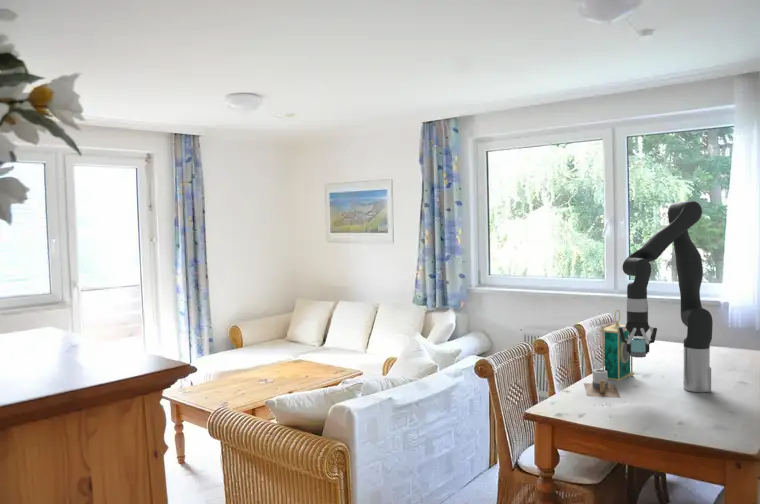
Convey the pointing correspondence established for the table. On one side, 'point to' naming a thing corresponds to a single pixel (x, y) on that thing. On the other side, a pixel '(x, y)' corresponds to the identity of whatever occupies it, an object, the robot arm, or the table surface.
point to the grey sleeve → (599, 378)
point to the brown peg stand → (601, 390)
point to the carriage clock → (615, 352)
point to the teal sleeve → (638, 347)
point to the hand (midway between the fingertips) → (637, 353)
